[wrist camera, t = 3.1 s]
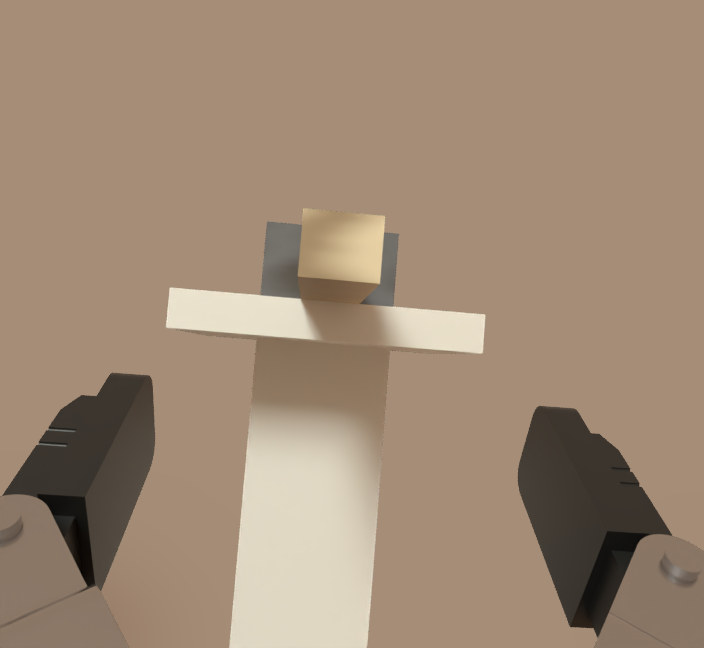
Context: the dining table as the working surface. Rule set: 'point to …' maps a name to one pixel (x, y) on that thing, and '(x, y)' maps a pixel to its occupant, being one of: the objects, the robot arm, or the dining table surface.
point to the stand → (313, 453)
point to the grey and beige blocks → (331, 259)
